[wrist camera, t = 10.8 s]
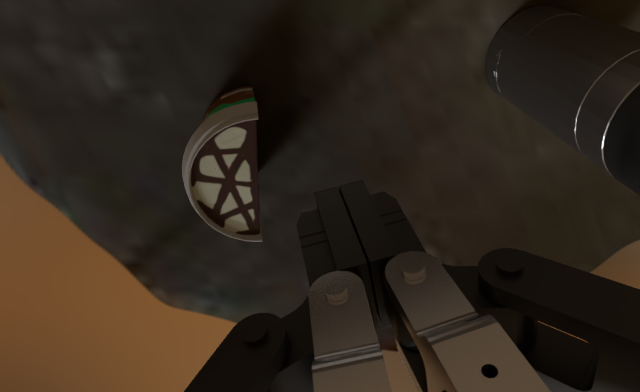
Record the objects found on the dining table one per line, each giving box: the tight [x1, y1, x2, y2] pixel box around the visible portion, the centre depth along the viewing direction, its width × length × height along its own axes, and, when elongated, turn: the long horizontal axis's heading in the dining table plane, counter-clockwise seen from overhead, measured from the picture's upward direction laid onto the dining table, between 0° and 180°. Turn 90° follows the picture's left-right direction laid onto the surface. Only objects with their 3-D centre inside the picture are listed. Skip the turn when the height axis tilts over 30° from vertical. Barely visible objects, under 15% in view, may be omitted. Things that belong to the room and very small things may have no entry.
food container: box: [182, 86, 262, 242], centre depth 41 cm, size 12×6×10 cm, turn 177°
